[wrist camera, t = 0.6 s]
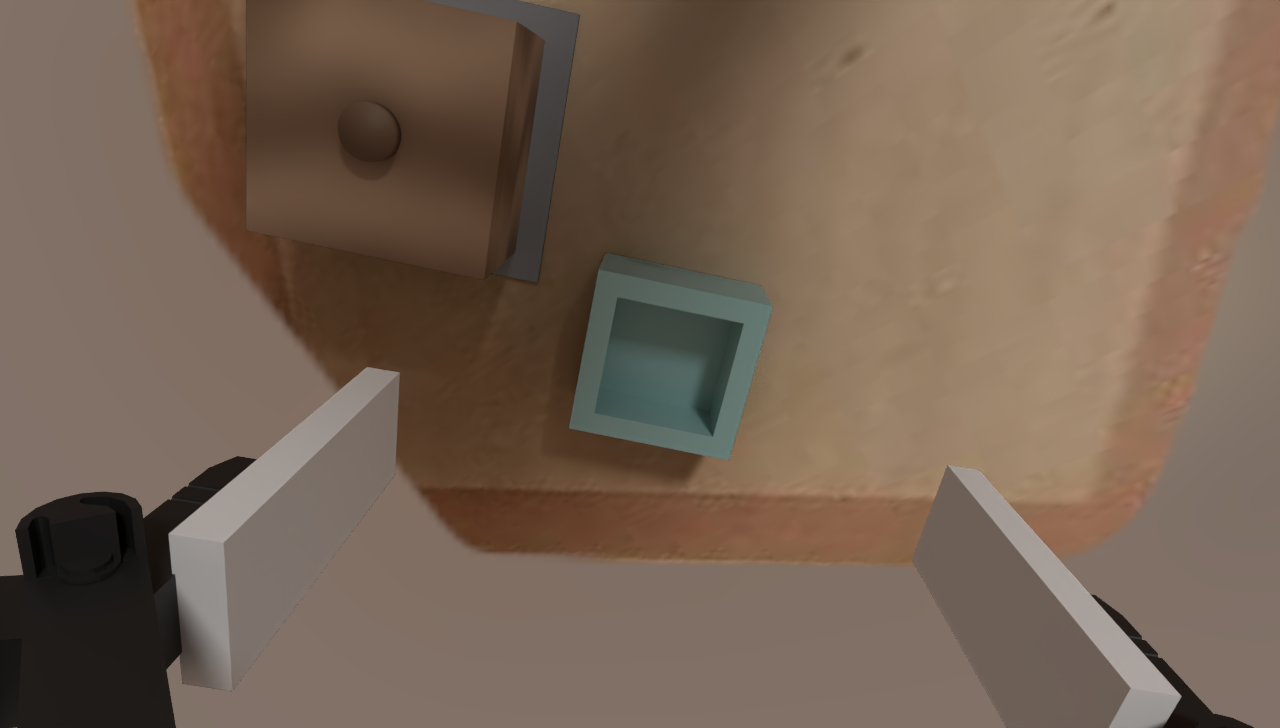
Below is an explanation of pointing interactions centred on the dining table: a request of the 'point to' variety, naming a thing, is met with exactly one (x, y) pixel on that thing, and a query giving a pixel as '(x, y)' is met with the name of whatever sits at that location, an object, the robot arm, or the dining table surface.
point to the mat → (537, 121)
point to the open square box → (669, 356)
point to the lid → (389, 129)
